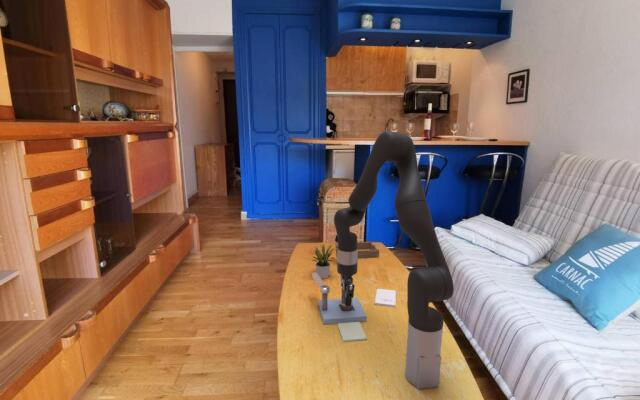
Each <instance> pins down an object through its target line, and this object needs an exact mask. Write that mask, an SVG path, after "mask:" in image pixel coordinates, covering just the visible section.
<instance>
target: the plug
mask: <svg viewBox="0 0 640 400" xmlns="http://www.w3.org/2000/svg"><path fill="white" fill-rule="evenodd" d="M346 289H347V287H346ZM340 299H341V312H342V311H353V310H352V304H353V301H352V298H351V306H345V291H344V290H343V288H342V287H341V297H340Z"/></svg>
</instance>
